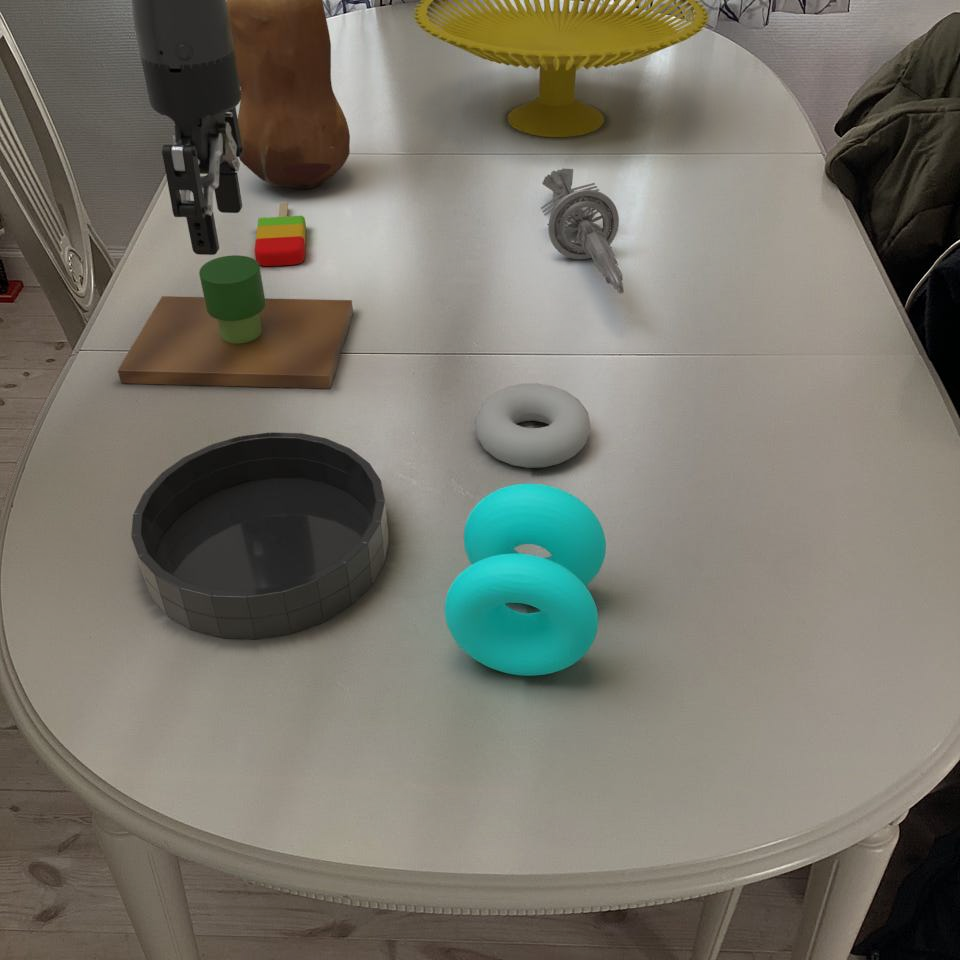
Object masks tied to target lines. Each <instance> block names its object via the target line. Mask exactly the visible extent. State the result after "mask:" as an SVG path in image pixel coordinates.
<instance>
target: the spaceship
mask: <svg viewBox="0 0 960 960" xmlns="http://www.w3.org/2000/svg"><path fill="white" fill-rule="evenodd" d="M573 177H574V168H561V169H557V170H552V171H551V172H550V174H547V175H546V176H544V179H543V181H542V183H541V184H542V185H543V186H545V188H547V189H548V190H550V191H552V199H551V200H550V201H548V202H547V203H545V204H544V205H542V206H541V207H540V209H541V210H542V213H544V216H545V217H546V216H548V215H549V214H550V216H549V219H548V223H547V226H548V227H547V228H548V229H547V230H548V237H549V239H550V242H551V244H552V246H553V247H554V248H555V249H556V251H558V253H560V254H561V255H563V256H564V257H566V258H569V259H574V260H587V259H590V258H591V259H592V261H593V263H594V265H595V267H596V269H597V270H598V271H599V273H600V274H601V275H602V277H603V278H604V279H605V281H606V283H607V284H608V285H610V286H612V287H613V289H614V290H615V291H616V292H617V293H618V294H619V295H622V294H624V284H623V274H622V272H621V270H620V267H619V266H618V265H619V263H618V261H617V259H616V256H615V254H614V251H613V247H612V246H611V244H613V241H614V240H615V238H616V236H617V233H618V230H619V227H620V215H619V211H618V209H617V206H616V205H615V203H614V202H613V200H612V199H611V198H610V197H609V196H608V195H606V194H605V193H603V192H601V191H600V189H599V188H598V186H597V185H596V182H593V183H588V184H585V185H580V186H577V187H573ZM572 187H573V188H572ZM583 208H584V209H583ZM598 213H599V214H600V215H599V216H596V217H595V215H597V214H598ZM600 220H602V227H601V226H600V225H599V224H597V223H596V222H597V221H600ZM566 229H568V230H566ZM574 232H577V234H576V238H575V240H574V242H573V241H571V239H570V238H569V237H568V235H570V234H571V233H574Z"/></svg>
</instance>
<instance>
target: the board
mask: <svg viewBox="0 0 960 960" xmlns="http://www.w3.org/2000/svg"><path fill="white" fill-rule="evenodd" d="M265 302H266V303H265V307H264V309H263V310H262V311H261V312H260V313H259V317H260V323H261V329H262V332H261V334H260V336H259V337H258V338H256V339H255V340H253V341H250V342H247V343H240V344H234V343H229V342H226V341H224V340H223V339H222V338H221V335H220V330H219V325H218V320H217V319H216V318H213V317H212V316H210V315H209V314H208V312H207V309H206V304H205V299H204V296H173V295H171V296H170V295H169V296H167V295H166V296H165V295H162V296H161V297H160V299H159V300H158V302H157V304H156V306H155V307H154V309H153V310H152V312H151V314H150V316H149V317H148V319H147V320H146V322H145V323H144V326H143V327H142V329H141V331H140V332H139V333H138V335H137V337H136V338H135V340H134V342H133V344H132V345H131V347H130V349H129V350H128V352H127V354H126V356H125V357H124V358H123V360H122V362H121V364H120V365H119V366H118V369H117V373H118V377H119V381H120V383H121V384H130V385H131V384H133V385H141V384H142V385H169V386H171V385H172V386H174V385H176V386H177V385H178V386H208V387H209V386H211V387H212V386H213V387H214V386H217V387H252V388H253V387H256V388H257V387H258V388H262V387H263V388H287V389H288V388H289V389H290V388H293V389H294V388H295V389H297V388H298V389H328V390H329V389H331V387H332V384H333V381H334V377H335V374H336V371H337V367H338V364H339V361H340V357H341V354H342V350H343V348H344V344H345V341H346V338H347V334H348V330H349V328H350V324H351V321H352V318H353V314H354V307H353V306H354V305H353V300H352V299H315V298H314V299H313V298H310V299H309V298H265Z"/></svg>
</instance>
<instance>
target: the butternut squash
mask: <svg viewBox="0 0 960 960" xmlns="http://www.w3.org/2000/svg"><path fill="white" fill-rule="evenodd" d="M226 4H227V7H228V11H229V16H230V22H231V29H232V36H233V43H234V49H235V56H236V63H237V70H238V77H239V84H240V90H241V100H240V102H239V108H238V114H237V118H238V124H239V130H240V136H241V142H242V148H243V155H242V157H238V159H239V162H241V163H242V164H243V165H244V166H245V167H246V168H247V169H248V170H250V172H252V173H253V174H254V175H256V176H257V178H259V179H260V180H262V181H263V182H266V183H268V184H270V185H272V186H275V187H278V188H295V189H298V190H303V191H307V190H311V189H313V188H317V187H321V186H322V185H323V184H325V182H327V181H328V180H329V179H330V178H332V177H333V176H334V175H335V174H336V173H337V172H339V171H340V170H341V169H342V167H343V166H344V165H345V163H346V162H347V160H348V158H349V156H350V153H351V152H350V151H351V150H350V149H351V148H350V144H351V143H350V142H351V135H350V128H349V125H348V121H347V118H346V116H345V113H344V111H343V109H342V107H341V105H340V103H339V101H338V99H337V97H336V95H335V92H334V90H333V89H334V88H333V85H332V84H333V83H332V43H331V36H330V29H329V25H328V19H327V16H326V10H325V6H324V2H323V0H226Z"/></svg>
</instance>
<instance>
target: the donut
mask: <svg viewBox="0 0 960 960" xmlns="http://www.w3.org/2000/svg"><path fill="white" fill-rule="evenodd" d="M524 422H539V423H544V424H546V425H545V426H542V427H525V426H521V425H518V424H520V423H524ZM474 426H475V427H474V428H475V436H476V438H477V439H478V441H479V443H480V444H481V446H482V448H483V449H484V450H485V451H486V452H487V453H489V454H490V455H491V456H492V457H494V458H495V459H497V460H498V461H501V462H503V463H506V464H508V465H511V466H514V467H519V468H526V469H536V468H537V469H538V468H540V469H541V468H547V467H552V466H555V465H559V464H560V465H561V464H562V463H564V462H566V461H568V460H570V459H571V458H573V457H575V456H576V455H577V454H578V453H579V452H580V451H581V450H582V449H583V448H584V447H585V446H586V444H587V441H588V440H589V439H588V438H589V435H590V432H591V429H592V428H591V427H592V426H591V420H590V417H589V412H588V410H587V408H586V407H585V405H583V403H582V402H581V400H580V399H578V398H577V397H576V396H574V395H573V394H571V393H570V392H568V391H567V390H565V389H563V388H560V387H557V386H554V385H550V384H545V383H544V384H543V383H537V382H535V383H532V382H531V383H518V384H515V385H509V386H506V387H504V388H501V389H499V390H497V391H496V392H494V393H492V394H490V396H488V397H487V398H486V399H485V400H484V401H483V402H482V403H481V405H480V407H479V409H478V410H477V413H476V415H475V419H474Z"/></svg>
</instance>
